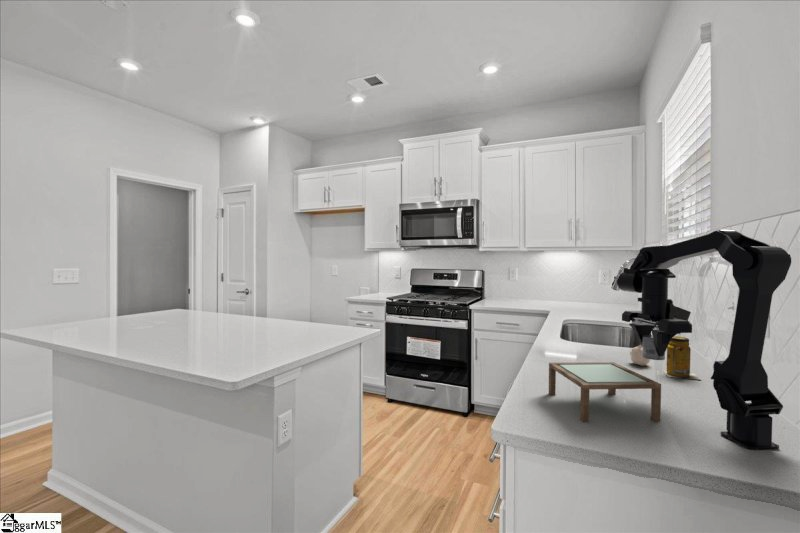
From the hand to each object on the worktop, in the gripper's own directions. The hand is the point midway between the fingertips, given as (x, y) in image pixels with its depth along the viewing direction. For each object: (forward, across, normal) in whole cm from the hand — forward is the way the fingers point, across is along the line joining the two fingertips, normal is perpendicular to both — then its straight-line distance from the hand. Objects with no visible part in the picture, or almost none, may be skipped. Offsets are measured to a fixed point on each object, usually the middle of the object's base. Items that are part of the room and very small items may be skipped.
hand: (653, 353), depth 100 cm
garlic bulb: (+12, +30, -18) cm, 37 cm away
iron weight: (+1, 0, 0) cm, 1 cm away
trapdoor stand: (+12, -5, +17) cm, 21 cm away
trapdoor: (+4, -5, +17) cm, 18 cm away
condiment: (+12, +19, -23) cm, 32 cm away
